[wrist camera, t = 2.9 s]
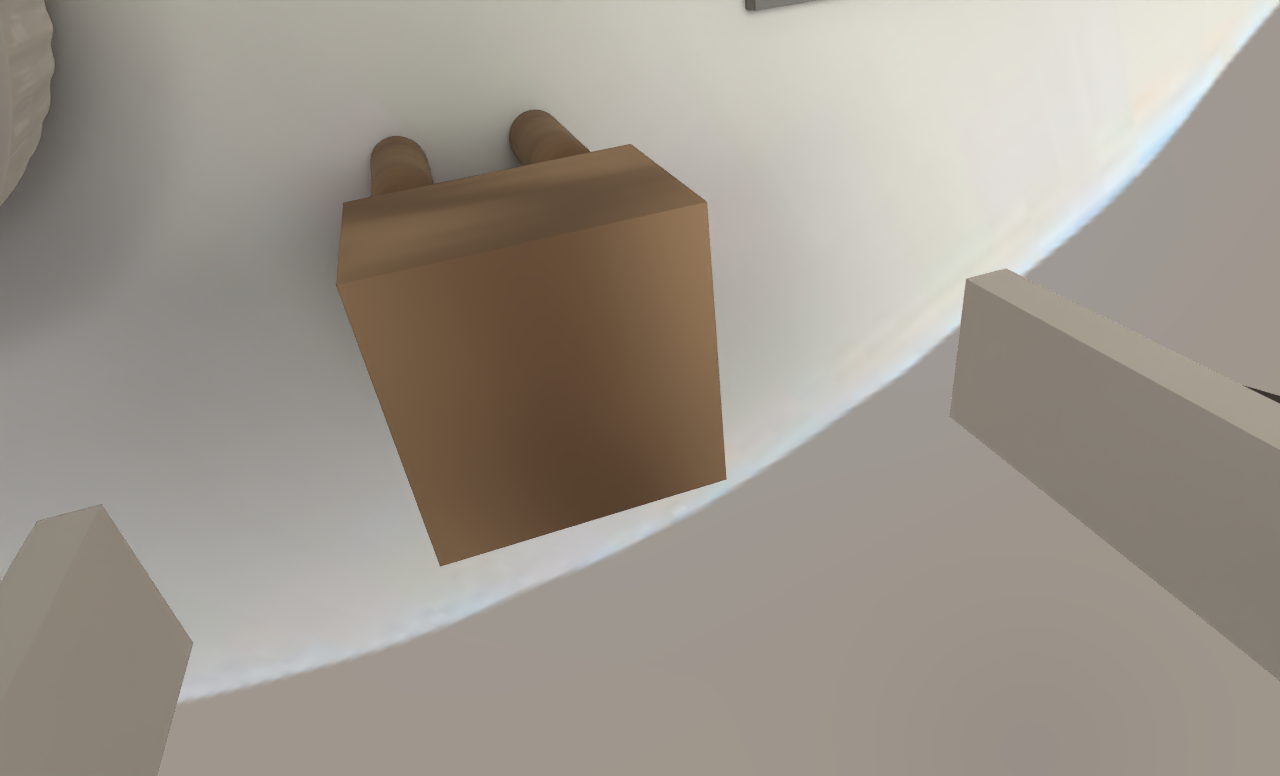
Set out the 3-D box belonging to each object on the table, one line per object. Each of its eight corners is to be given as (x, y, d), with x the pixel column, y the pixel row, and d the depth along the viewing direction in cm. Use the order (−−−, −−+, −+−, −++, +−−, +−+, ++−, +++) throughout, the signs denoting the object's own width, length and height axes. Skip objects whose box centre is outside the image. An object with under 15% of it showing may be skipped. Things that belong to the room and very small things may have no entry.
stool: (412, 328, 21) (440, 566, 13) (349, 133, 18) (336, 285, 10) (595, 284, 22) (726, 479, 14) (564, 93, 20) (707, 202, 11)
